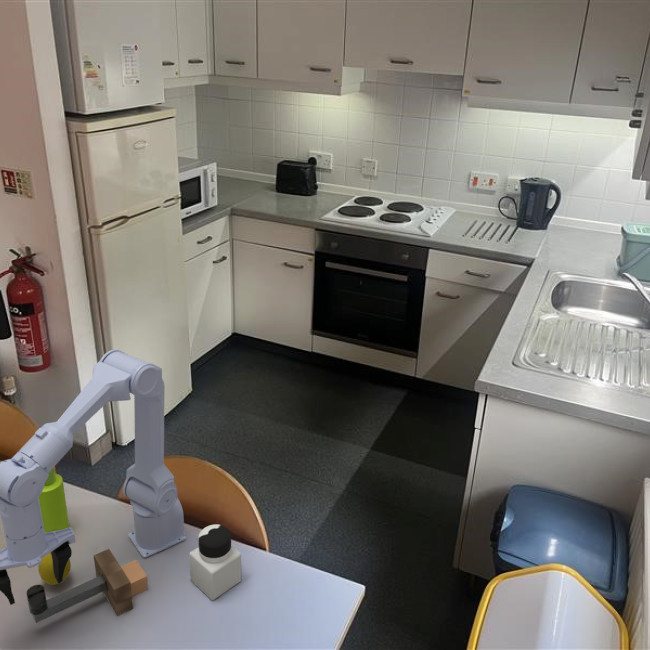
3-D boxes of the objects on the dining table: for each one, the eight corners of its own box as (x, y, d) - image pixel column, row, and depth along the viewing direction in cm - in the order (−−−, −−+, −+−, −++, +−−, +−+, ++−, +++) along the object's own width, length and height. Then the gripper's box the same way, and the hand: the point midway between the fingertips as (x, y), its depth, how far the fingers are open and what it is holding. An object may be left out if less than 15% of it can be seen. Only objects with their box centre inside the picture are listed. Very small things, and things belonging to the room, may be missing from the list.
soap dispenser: (56, 516, 137) (44, 439, 129) (75, 531, 134) (64, 452, 125) (30, 531, 133) (16, 452, 124) (50, 547, 129) (37, 466, 121)
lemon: (62, 596, 118) (56, 564, 115) (35, 590, 119) (29, 558, 116) (78, 574, 123) (73, 542, 120) (52, 568, 124) (47, 537, 121)
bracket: (112, 574, 124) (109, 548, 121) (133, 608, 117) (130, 582, 114) (96, 581, 122) (93, 555, 119) (117, 616, 115) (114, 589, 112)
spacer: (137, 573, 124) (136, 559, 123) (148, 589, 121) (146, 575, 119) (117, 582, 122) (115, 568, 121) (127, 599, 119) (126, 585, 117)
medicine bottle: (242, 581, 124) (241, 533, 119) (212, 601, 119) (211, 553, 114) (218, 561, 128) (217, 514, 123) (189, 580, 123) (187, 532, 118)
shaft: (112, 576, 119) (110, 552, 117) (118, 586, 117) (116, 561, 115) (29, 614, 111) (24, 589, 108) (34, 626, 109) (29, 600, 106)
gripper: (-20, 562, 95) (-5, 627, 101) (77, 523, 104) (86, 585, 109) (-31, 534, 100) (-16, 597, 106) (63, 499, 109) (72, 559, 114)
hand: (35, 589), depth 108 cm, fingers open, 7 cm apart
